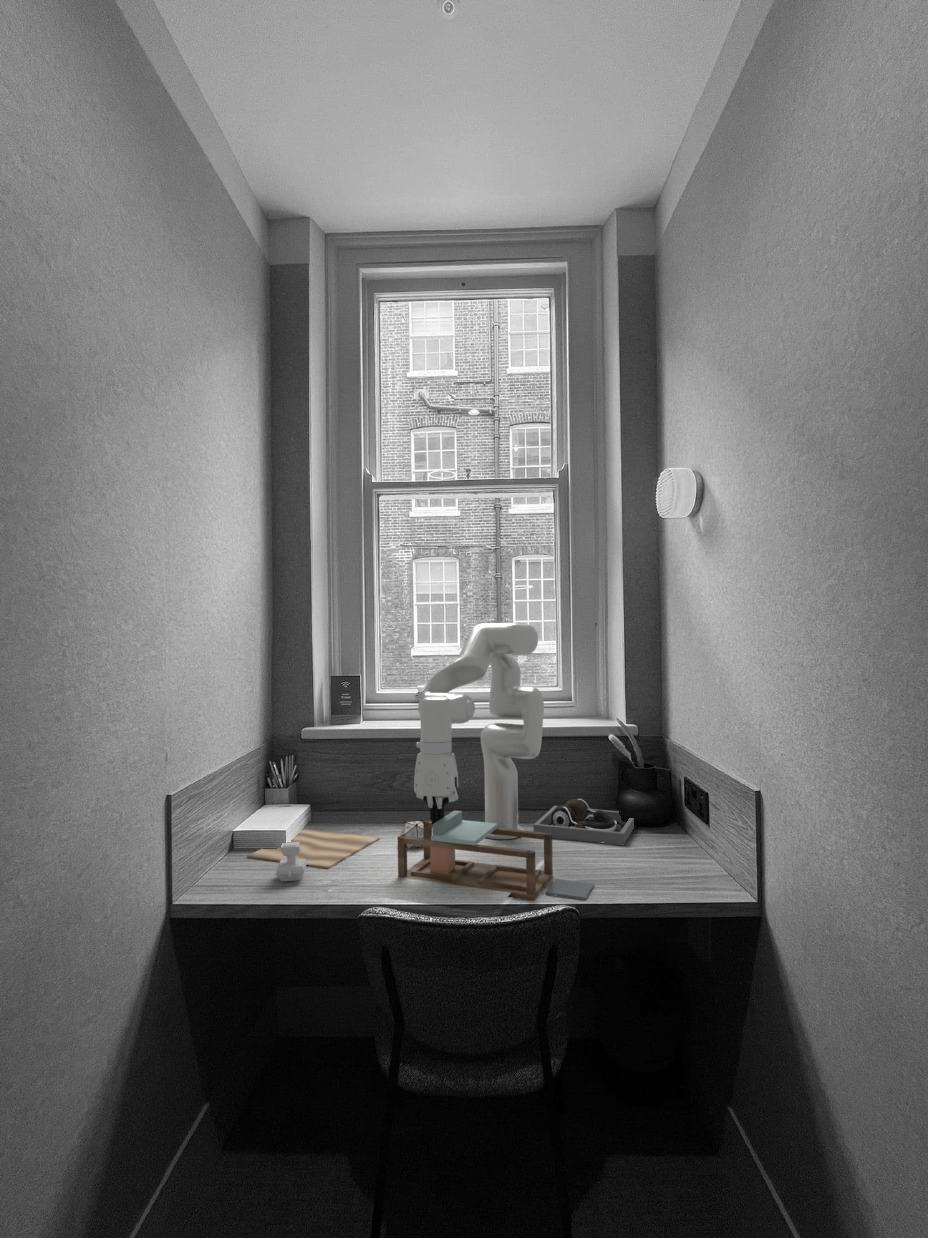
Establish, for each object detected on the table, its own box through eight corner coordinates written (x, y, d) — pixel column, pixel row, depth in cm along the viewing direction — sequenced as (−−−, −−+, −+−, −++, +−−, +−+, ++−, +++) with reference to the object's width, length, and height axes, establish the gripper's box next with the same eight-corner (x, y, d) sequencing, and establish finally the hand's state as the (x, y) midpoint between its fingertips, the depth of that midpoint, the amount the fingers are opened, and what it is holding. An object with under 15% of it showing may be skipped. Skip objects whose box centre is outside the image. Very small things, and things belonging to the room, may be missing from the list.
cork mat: (305, 830, 213) (305, 829, 213) (379, 839, 203) (379, 837, 203) (247, 857, 189) (247, 855, 189) (328, 869, 179) (328, 867, 179)
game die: (407, 864, 193) (385, 833, 195) (428, 846, 199) (407, 816, 200) (422, 855, 187) (399, 823, 188) (443, 836, 193) (421, 806, 194)
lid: (456, 823, 181) (456, 809, 181) (497, 827, 177) (497, 813, 177) (431, 840, 167) (430, 825, 167) (475, 845, 163) (475, 830, 163)
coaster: (555, 881, 169) (555, 878, 169) (594, 886, 166) (594, 883, 166) (545, 894, 161) (545, 892, 161) (585, 900, 157) (585, 897, 157)
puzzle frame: (426, 861, 184) (426, 820, 184) (552, 877, 172) (552, 833, 172) (398, 881, 170) (397, 837, 170) (533, 901, 157) (533, 853, 157)
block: (438, 866, 177) (438, 837, 177) (455, 868, 175) (454, 839, 175) (430, 872, 173) (430, 842, 173) (447, 874, 171) (447, 844, 171)
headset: (571, 792, 222) (634, 810, 212) (568, 817, 223) (631, 836, 212) (548, 805, 208) (614, 825, 197) (544, 831, 208) (610, 852, 198)
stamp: (304, 885, 169) (303, 849, 169) (274, 886, 168) (274, 850, 168) (307, 872, 178) (307, 837, 178) (279, 873, 177) (279, 839, 177)
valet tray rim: (554, 816, 225) (554, 805, 225) (637, 823, 216) (636, 813, 216) (533, 836, 205) (533, 824, 205) (623, 845, 195) (623, 833, 195)
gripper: (401, 748, 174) (402, 824, 174) (458, 752, 168) (459, 831, 168) (415, 743, 181) (416, 817, 181) (470, 747, 175) (471, 822, 175)
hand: (437, 823), depth 175 cm, fingers closed
